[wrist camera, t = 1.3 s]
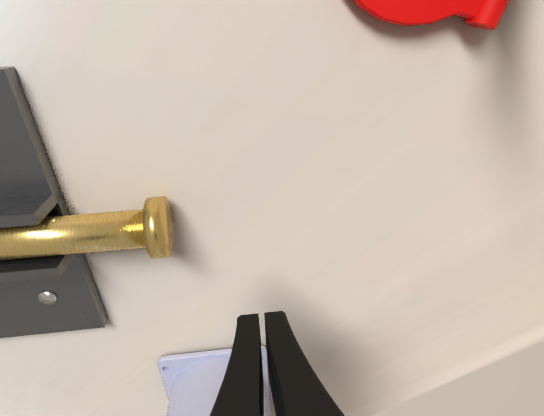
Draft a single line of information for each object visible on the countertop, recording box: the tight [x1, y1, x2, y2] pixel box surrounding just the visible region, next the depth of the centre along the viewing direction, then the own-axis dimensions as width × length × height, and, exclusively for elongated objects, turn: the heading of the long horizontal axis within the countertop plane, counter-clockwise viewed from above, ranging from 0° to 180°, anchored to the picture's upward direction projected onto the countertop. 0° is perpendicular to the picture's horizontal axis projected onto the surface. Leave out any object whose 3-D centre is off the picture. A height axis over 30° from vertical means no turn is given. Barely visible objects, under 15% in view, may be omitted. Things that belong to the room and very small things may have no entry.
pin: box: [0, 196, 174, 260], centre depth 18 cm, size 3×13×3 cm, turn 92°
